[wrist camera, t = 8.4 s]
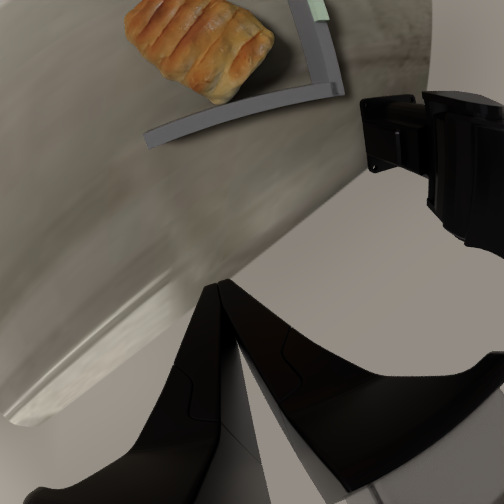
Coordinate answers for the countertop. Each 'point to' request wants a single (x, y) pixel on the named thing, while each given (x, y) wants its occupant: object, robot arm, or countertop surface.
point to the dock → (323, 85)
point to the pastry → (200, 43)
